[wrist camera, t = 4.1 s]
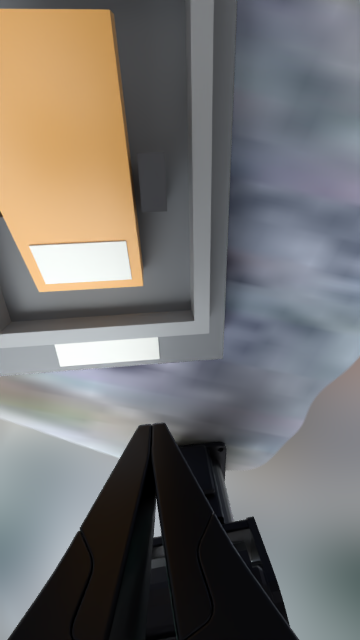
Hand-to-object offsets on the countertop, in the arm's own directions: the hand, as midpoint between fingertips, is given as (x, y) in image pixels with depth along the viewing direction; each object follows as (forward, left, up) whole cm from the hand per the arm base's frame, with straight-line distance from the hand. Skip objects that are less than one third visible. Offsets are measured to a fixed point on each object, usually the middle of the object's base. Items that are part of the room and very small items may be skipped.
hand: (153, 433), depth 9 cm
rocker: (+7, +3, -6) cm, 10 cm away
